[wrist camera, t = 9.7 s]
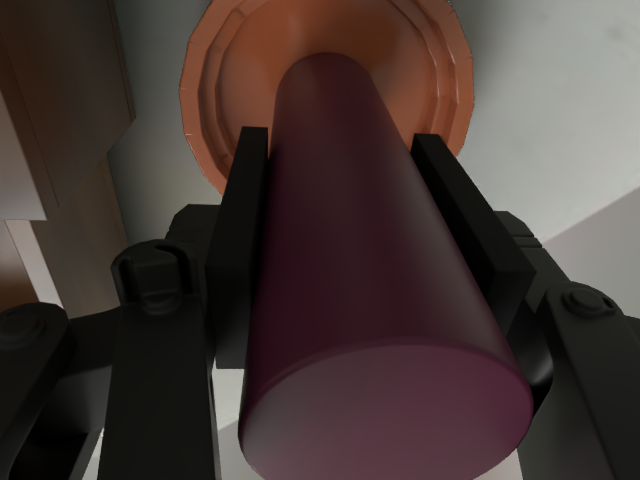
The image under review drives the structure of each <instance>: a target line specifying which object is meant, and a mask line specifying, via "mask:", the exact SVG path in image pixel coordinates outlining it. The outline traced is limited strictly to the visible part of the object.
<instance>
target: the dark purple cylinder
mask: <svg viewBox="0 0 640 480" xmlns="http://www.w3.org/2000/svg"><path fill="white" fill-rule="evenodd" d="M533 408H534V400H533V395H532V390H531V388H530V386H529V384H528V381H527V379H526V377H525V375H524V374H523V372H522V370H521V368H520V366H519V364H518V362H517V360H516V358H515V356H514V354H513V352H512V350H511V348H510V346H509V344H508V342H507V341H506V339H505V337H504V335H503V333H502V331H501V329H500V327H499V325H498V323H497V321H496V319H495V317H494V315H493V313H492V311H491V309H490V308H489V306H488V304H487V302H486V300H485V298H484V296H483V294H482V292H481V290H480V288H479V286H478V284H477V282H476V280H475V278H474V277H473V275H472V273H471V271H470V269H469V267H468V265H467V263H466V261H465V259H464V257H463V255H462V253H461V251H460V249H459V247H458V245H457V244H456V242H455V240H454V238H453V236H452V234H451V232H450V230H449V228H448V226H447V224H446V222H445V220H444V218H443V216H442V214H441V212H440V211H439V209H438V207H437V205H436V203H435V201H434V199H433V197H432V195H431V193H430V191H429V189H428V187H427V185H426V183H425V181H424V179H423V178H422V176H421V174H420V172H419V170H418V168H417V166H416V164H415V162H414V160H413V158H412V156H411V154H410V152H409V150H408V148H407V146H406V145H405V143H404V141H403V139H402V137H401V135H400V133H399V131H398V129H397V127H396V125H395V123H394V121H393V119H392V117H391V115H390V113H389V112H388V110H387V108H386V106H385V104H384V102H383V100H382V98H381V96H380V94H379V92H378V90H377V88H376V86H375V84H374V82H373V81H372V79H371V77H370V75H369V74H368V72H367V71H366V70H365V69H364V68H363V67H362V66H361V65H360V64H359V63H358V62H356V61H355V60H353V59H352V58H350V57H347V56H345V55H342V54H338V53H331V52H325V53H317V54H313V55H310V56H307V57H305V58H303V59H301V60H300V61H298V62H297V63H295V64H294V65H293V66H292V67H291V68H290V69H289V70H288V71H287V72H286V73H285V75H284V76H283V78H282V80H281V82H280V84H279V86H278V89H277V92H276V97H275V106H274V114H273V123H272V132H271V141H270V149H269V158H268V168H267V176H266V185H265V194H264V203H263V212H262V220H261V229H260V238H259V247H258V255H257V264H256V273H255V282H254V290H253V299H252V308H251V316H250V324H249V333H248V342H247V351H246V359H245V368H244V377H243V386H242V394H241V403H240V412H239V421H238V439H239V444H240V448H241V451H242V453H243V455H244V457H245V459H246V461H247V462H248V464H249V465H250V466H251V468H252V469H253V470H254V471H255V472H256V473H258V474H259V475H260V476H261V477H262V478H264V479H265V480H473V479H475V478H477V477H479V476H480V475H482V474H484V473H486V472H487V471H489V470H490V469H492V468H493V467H495V466H496V465H498V464H499V463H501V462H502V461H503V460H504V459H505V458H507V457H508V456H509V455H510V454H511V453H512V452H513V451H514V450H515V449H516V448H517V447H518V446H519V444H520V443H521V441H522V440H523V439H524V437H525V436H526V434H527V432H528V430H529V428H530V425H531V422H532V418H533Z"/></svg>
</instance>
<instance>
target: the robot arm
mask: <svg viewBox="0 0 640 480" xmlns="http://www.w3.org/2000/svg"><path fill="white" fill-rule="evenodd" d="M410 154H411V156H412V158H413V160H414V162H415V164H416V166H417V168H418V170H419V172H420V174H421V176H422V178H423V179H424V181H425V183H426V185H427V187H428V189H429V191H430V193H431V195H432V197H433V199H434V201H435V203H436V205H437V207H438V209H439V211H440V212H441V214H442V216H443V218H444V220H445V222H446V224H447V226H448V228H449V230H450V232H451V234H452V236H453V238H454V240H455V242H456V244H457V245H458V247H459V249H460V251H461V253H462V255H463V257H464V259H465V261H466V263H467V265H468V267H469V269H470V271H471V273H472V275H473V277H474V278H475V280H476V282H477V284H478V286H479V288H480V290H481V292H482V294H483V296H484V298H485V300H486V302H487V304H488V306H489V308H490V309H491V311H492V313H493V315H494V317H495V319H496V321H497V323H498V325H499V327H500V329H501V331H502V333H503V335H504V337H505V339H506V341H507V342H508V344H509V346H510V348H511V350H512V352H513V354H514V356H515V358H516V360H517V362H518V364H519V366H520V368H521V370H522V372H523V374H524V375H525V377H526V379H527V381H528V384H529V386H530V388H531V390H532V395H533V400H534V408H533V418H532V422H531V425H530V428H529V430H528V432H527V434H526V436H525V437H524V439H523V440H522V441H521V443H520V444H519V446H518V447H517V452H518V457H519V462H520V467H521V471H522V476H523V480H640V319H639V318H634V317H630V316H626V315H624V314H623V312H622V310H621V309H620V308H619V307H618V305H617V304H616V303H615V302H614V301H613V300H612V299H611V298H609V297H608V296H606V295H605V294H604V293H602V292H601V291H599V290H597V289H595V288H592V287H590V286H588V285H585V284H581V283H577V282H573V281H570V280H569V278H568V277H567V276H566V275H565V274H564V272H563V271H562V270H561V269H560V267H559V266H558V265H557V263H556V262H555V261H554V260H553V258H552V257H551V256H550V255H549V253H548V252H547V251H546V250H545V249H544V248H542V245H541V243H540V242H539V241H538V239H537V238H534V234H533V233H532V232H531V231H530V229H529V228H528V227H527V226H526V224H525V223H524V222H523V221H521V220H520V219H518V218H517V217H515V216H514V215H512V214H511V213H509V212H508V211H493V209H492V208H491V207H490V205H489V204H488V202H487V201H486V200H485V198H484V197H483V195H482V194H481V193H480V191H479V190H478V188H477V187H476V186H475V184H474V183H473V181H472V180H471V179H470V177H469V176H468V175H467V173H466V172H465V170H464V169H463V168H462V166H461V165H460V163H459V162H458V161H457V159H456V158H455V156H454V155H453V154H452V152H451V151H450V149H449V148H448V147H447V145H446V144H445V143H444V141H443V140H442V138H441V137H440V136H439V134H424V133H414V136H413V141H412V146H411V152H410ZM267 168H268V127H250V126H242V129H241V132H240V136H239V140H238V143H237V147H236V151H235V154H234V158H233V162H232V165H231V169H230V173H229V176H228V180H227V184H226V187H225V191H224V195H223V198H222V202H221V205H202V204H188V205H186V206H185V207H184V208H183V209H182V210H180V211H179V212H178V213H177V214H176V215H175V216H174V218H173V220H172V223H171V225H170V227H169V231H168V232H167V234H166V237H165V239H154V240H149V241H144V242H140V243H137V244H135V245H133V246H131V247H128V248H126V249H125V250H123V251H122V252H121V253H120V254H118V255H117V256H116V257H115V258H114V260H113V262H112V264H111V266H110V270H111V274H112V277H113V281H114V284H115V288H116V291H117V295H118V298H119V302H120V306H118V307H116V308H114V309H111V310H107V311H104V312H100V313H95V314H91V315H86V316H82V317H77V318H72V319H69V318H68V315H67V313H66V310H64V309H63V308H61V307H60V306H58V305H57V304H53V303H47V302H34V303H25V304H22V305H18V306H15V307H12V308H9V309H6V310H5V311H3V312H1V313H0V480H82V478H83V476H84V473H85V471H86V468H87V466H88V463H89V461H90V459H91V456H92V454H93V451H94V449H95V446H96V444H97V441H98V439H99V436H100V434H101V432H102V429H103V428H104V431H103V439H102V446H101V454H100V461H99V468H98V476H97V480H222V478H221V467H220V456H219V445H218V433H217V422H216V411H215V400H214V389H213V381H212V368H213V363H214V358H215V360H216V368H217V369H244V368H245V359H246V351H247V342H248V333H249V324H250V316H251V308H252V299H253V290H254V282H255V273H256V264H257V255H258V247H259V238H260V229H261V220H262V212H263V203H264V194H265V185H266V176H267Z"/></svg>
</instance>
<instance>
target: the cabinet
mask: <svg viewBox="0 0 640 480" xmlns="http://www.w3.org/2000/svg"><path fill="white" fill-rule="evenodd" d="M135 118H136V115H135V109H134V104H133V99H132V94H131V88H130V83H129V78H128V73H127V68H126V62H125V57H124V52H123V47H122V41H121V36H120V31H119V26H118V20H117V15H116V10H115V5H114V0H0V220H39V221H48V220H50V218H51V217H52V216H53V215H54V214H55V213H56V211H57V210H58V208H60V207H61V206H62V204H63V203H64V202H65V201H66V200H67V199H68V197H69V196H70V195H71V194H72V193H73V191H74V190H75V189H76V188H77V187H78V186H79V184H80V183H81V182H82V181H83V180H84V179H85V177H86V176H87V175H88V174H89V173H90V171H91V170H92V169H93V168H94V167H95V166H96V164H97V163H98V162H99V161H100V160H101V158H102V157H103V156H104V155H105V154H106V153H107V151H108V150H109V149H110V148H111V147H112V146H113V144H114V143H115V142H116V141H117V140H118V138H119V137H120V136H121V135H122V134H123V133H124V131H125V130H126V129H127V128H128V127H129V125H130V124H131V122H133V120H134V119H135Z"/></svg>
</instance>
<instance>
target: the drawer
mask: <svg viewBox="0 0 640 480" xmlns="http://www.w3.org/2000/svg"><path fill="white" fill-rule="evenodd" d="M128 247H129V246H128V242H127V238H126V234H125V230H124V226H123V222H122V218H121V214H120V210H119V206H118V201H117V197H116V193H115V189H114V185H113V181H112V177H111V173H110V169H109V165H108V161H107V157H106V154H105V155H104V156H103V157H102V158H101V160H100V161H99V162H98V163H97V164H96V166H95V167H94V168H93V169H92V170H91V171H90V173H89V174H88V175H87V176H86V177H85V179H84V180H83V181H82V182H81V183H80V184H79V186H78V187H77V188H76V189H75V190H74V191H73V193H72V194H71V195H70V196H69V197H68V199H67V200H66V201H65V202H64V203H63V204H62V206H61V207H60V208H58V210H57V211H56V213H55V214H54V215H53V216H52V217H51V218H50V220H48V221H39V220H0V313H1V312H3V311H5V310H6V309H9V308H12V307H15V306H18V305H22V304H25V303H34V302H47V303H53V304H57V305H58V306H60V307H61V308H63V309H64V310H66V313H67V315H68V318H69V319H72V318H77V317H82V316H86V315H91V314H95V313H100V312H104V311H107V310H111V309H114V308H116V307H118V306H120V302H119V298H118V295H117V291H116V288H115V284H114V281H113V277H112V274H111V270H110V266H111V264H112V262H113V260H114V258H115V257H116V256H117V255H118V254H120V253H121V252H122V251H123V250H125V249H126V248H128ZM103 431H104V428H103V429H102V432H101V434H100V436H99V437H103Z"/></svg>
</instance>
